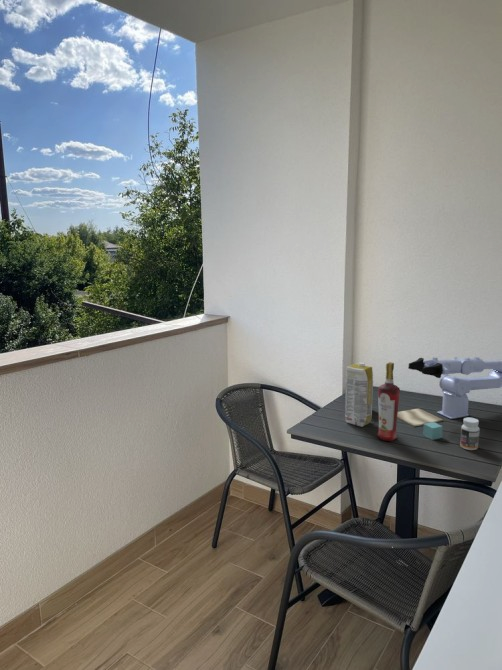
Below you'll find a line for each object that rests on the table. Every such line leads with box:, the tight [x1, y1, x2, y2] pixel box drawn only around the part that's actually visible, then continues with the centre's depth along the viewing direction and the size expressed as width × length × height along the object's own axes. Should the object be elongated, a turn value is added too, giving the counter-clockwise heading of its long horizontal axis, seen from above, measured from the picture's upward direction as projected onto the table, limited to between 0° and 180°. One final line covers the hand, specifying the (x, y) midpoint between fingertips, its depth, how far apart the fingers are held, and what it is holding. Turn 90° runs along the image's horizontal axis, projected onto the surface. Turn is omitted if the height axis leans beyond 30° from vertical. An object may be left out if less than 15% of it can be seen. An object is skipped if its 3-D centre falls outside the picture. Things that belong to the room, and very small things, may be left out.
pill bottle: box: [459, 416, 481, 451], centre depth 161 cm, size 6×6×10 cm
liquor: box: [376, 361, 401, 442], centre depth 168 cm, size 7×7×28 cm
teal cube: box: [422, 422, 444, 441], centre depth 171 cm, size 4×4×4 cm
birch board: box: [397, 408, 444, 427], centre depth 190 cm, size 14×14×1 cm
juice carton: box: [344, 362, 374, 428], centre depth 184 cm, size 9×8×24 cm
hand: (415, 368), depth 181 cm, fingers open, 7 cm apart
